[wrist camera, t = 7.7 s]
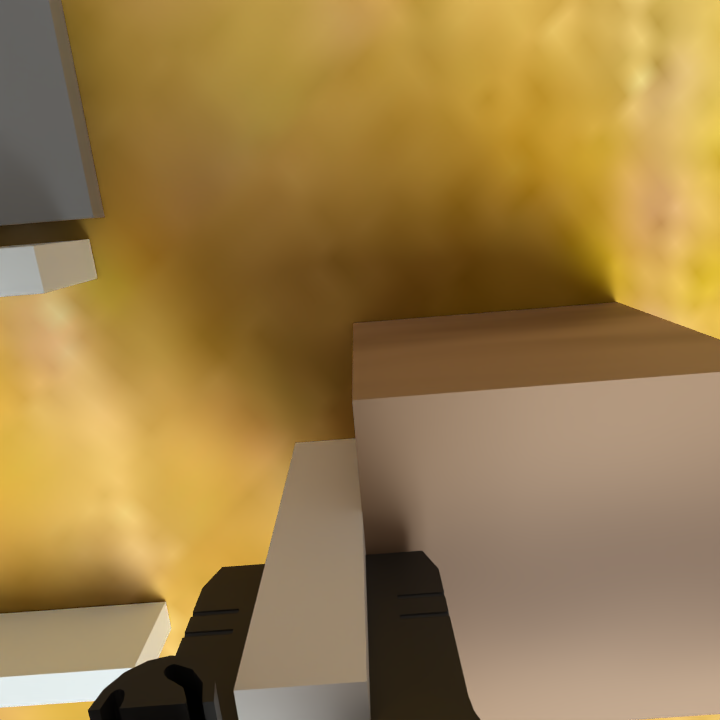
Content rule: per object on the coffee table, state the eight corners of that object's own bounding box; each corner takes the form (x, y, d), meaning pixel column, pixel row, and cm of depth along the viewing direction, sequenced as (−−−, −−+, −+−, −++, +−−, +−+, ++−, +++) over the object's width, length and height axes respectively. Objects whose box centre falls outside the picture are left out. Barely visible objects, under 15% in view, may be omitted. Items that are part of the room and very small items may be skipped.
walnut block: (353, 322, 14) (352, 399, 9) (616, 302, 14) (792, 365, 9) (372, 549, 16) (382, 737, 11) (604, 532, 16) (742, 712, 10)
